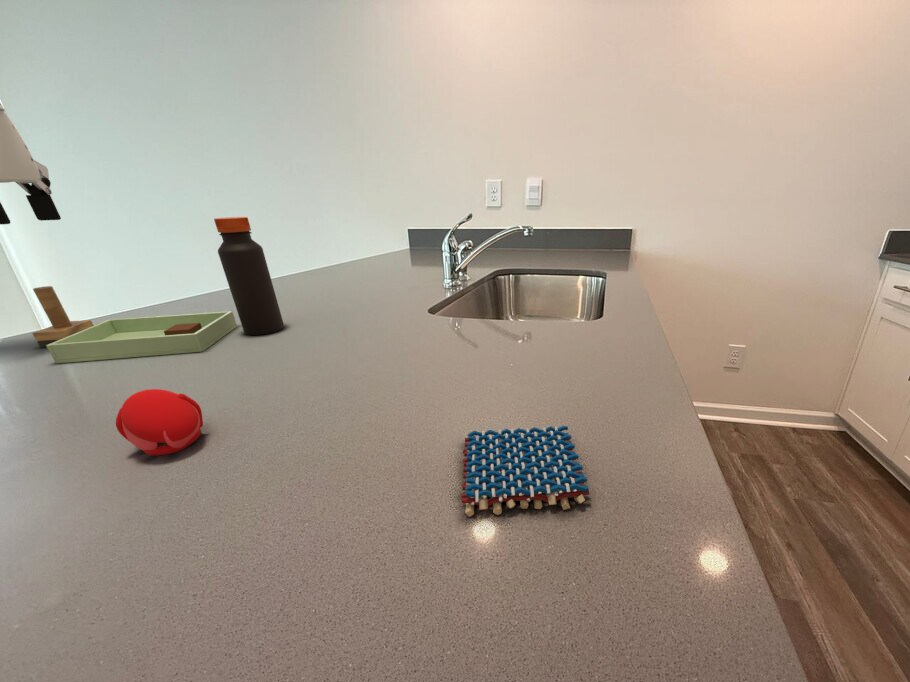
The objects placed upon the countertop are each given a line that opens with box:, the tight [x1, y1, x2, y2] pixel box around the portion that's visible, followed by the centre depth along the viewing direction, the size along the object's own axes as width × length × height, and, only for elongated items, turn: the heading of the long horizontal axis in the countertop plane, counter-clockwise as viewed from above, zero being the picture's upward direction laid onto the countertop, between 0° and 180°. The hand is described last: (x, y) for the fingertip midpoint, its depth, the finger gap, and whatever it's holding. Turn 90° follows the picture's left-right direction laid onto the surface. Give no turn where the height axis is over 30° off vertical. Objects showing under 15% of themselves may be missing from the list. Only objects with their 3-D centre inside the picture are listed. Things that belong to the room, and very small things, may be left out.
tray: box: [46, 310, 238, 364], centre depth 72 cm, size 21×14×3 cm
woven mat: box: [460, 424, 590, 518], centre depth 37 cm, size 10×11×2 cm
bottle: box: [213, 216, 285, 336], centre depth 74 cm, size 7×7×20 cm
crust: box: [164, 323, 202, 336], centre depth 73 cm, size 4×4×2 cm
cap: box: [115, 388, 204, 456], centre depth 42 cm, size 8×6×6 cm
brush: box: [32, 285, 95, 349], centre depth 73 cm, size 7×4×10 cm, turn 11°
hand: (25, 222), depth 67 cm, fingers open, 9 cm apart
